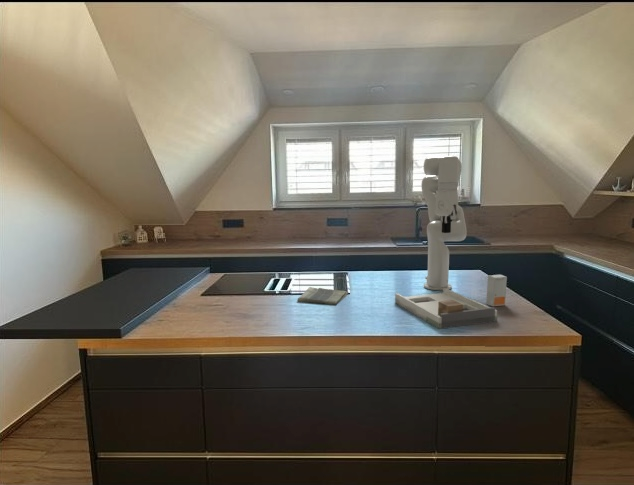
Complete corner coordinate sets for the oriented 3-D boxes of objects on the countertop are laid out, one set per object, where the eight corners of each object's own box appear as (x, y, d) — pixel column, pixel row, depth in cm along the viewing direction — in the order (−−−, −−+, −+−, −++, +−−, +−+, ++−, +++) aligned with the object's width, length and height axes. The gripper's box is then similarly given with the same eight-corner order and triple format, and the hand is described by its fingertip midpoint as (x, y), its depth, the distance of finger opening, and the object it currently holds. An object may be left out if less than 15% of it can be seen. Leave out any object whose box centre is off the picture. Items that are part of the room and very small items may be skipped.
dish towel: (337, 307, 170) (337, 299, 169) (296, 303, 176) (296, 296, 175) (348, 294, 187) (348, 287, 187) (311, 291, 193) (311, 285, 192)
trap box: (395, 302, 173) (395, 291, 172) (445, 297, 179) (445, 285, 179) (438, 328, 142) (439, 314, 142) (496, 321, 149) (497, 307, 148)
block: (438, 314, 151) (438, 301, 150) (452, 312, 153) (452, 299, 152) (447, 319, 145) (448, 306, 144) (462, 318, 147) (462, 304, 146)
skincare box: (492, 307, 165) (494, 277, 163) (485, 303, 169) (487, 275, 167) (505, 305, 167) (507, 276, 165) (498, 302, 171) (500, 274, 169)
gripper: (429, 187, 172) (428, 230, 175) (450, 188, 158) (448, 235, 161) (444, 186, 174) (443, 230, 177) (467, 187, 160) (465, 234, 163)
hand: (446, 232), depth 169 cm, fingers closed
